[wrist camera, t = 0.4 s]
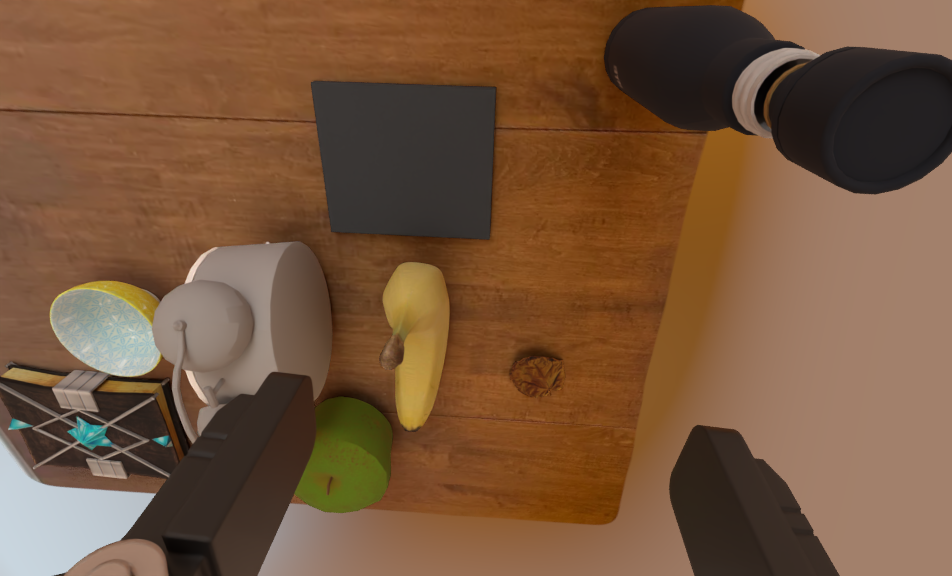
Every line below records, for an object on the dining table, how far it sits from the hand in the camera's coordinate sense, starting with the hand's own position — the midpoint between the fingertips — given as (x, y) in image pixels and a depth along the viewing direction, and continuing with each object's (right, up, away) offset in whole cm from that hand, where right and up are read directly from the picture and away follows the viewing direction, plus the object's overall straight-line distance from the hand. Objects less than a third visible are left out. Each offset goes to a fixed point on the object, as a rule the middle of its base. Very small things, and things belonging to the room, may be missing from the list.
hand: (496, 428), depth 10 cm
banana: (-6, 0, +44) cm, 44 cm away
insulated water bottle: (+13, +22, +29) cm, 39 cm away
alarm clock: (-19, +4, +43) cm, 47 cm away
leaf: (+7, -7, +47) cm, 48 cm away
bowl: (-39, +1, +46) cm, 60 cm away
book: (-50, -14, +55) cm, 76 cm away
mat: (-7, +15, +35) cm, 39 cm away
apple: (-16, -14, +53) cm, 57 cm away
